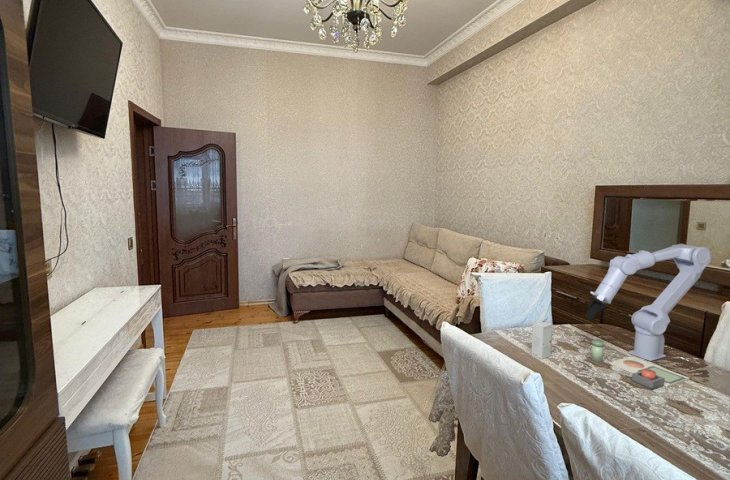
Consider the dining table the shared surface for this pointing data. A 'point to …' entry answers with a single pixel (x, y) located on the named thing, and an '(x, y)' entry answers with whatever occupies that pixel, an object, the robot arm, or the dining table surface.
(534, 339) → the skincare box
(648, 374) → the button
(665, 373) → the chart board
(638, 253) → the robot arm
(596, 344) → the green cup
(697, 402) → the dining table surface
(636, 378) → the button housing
